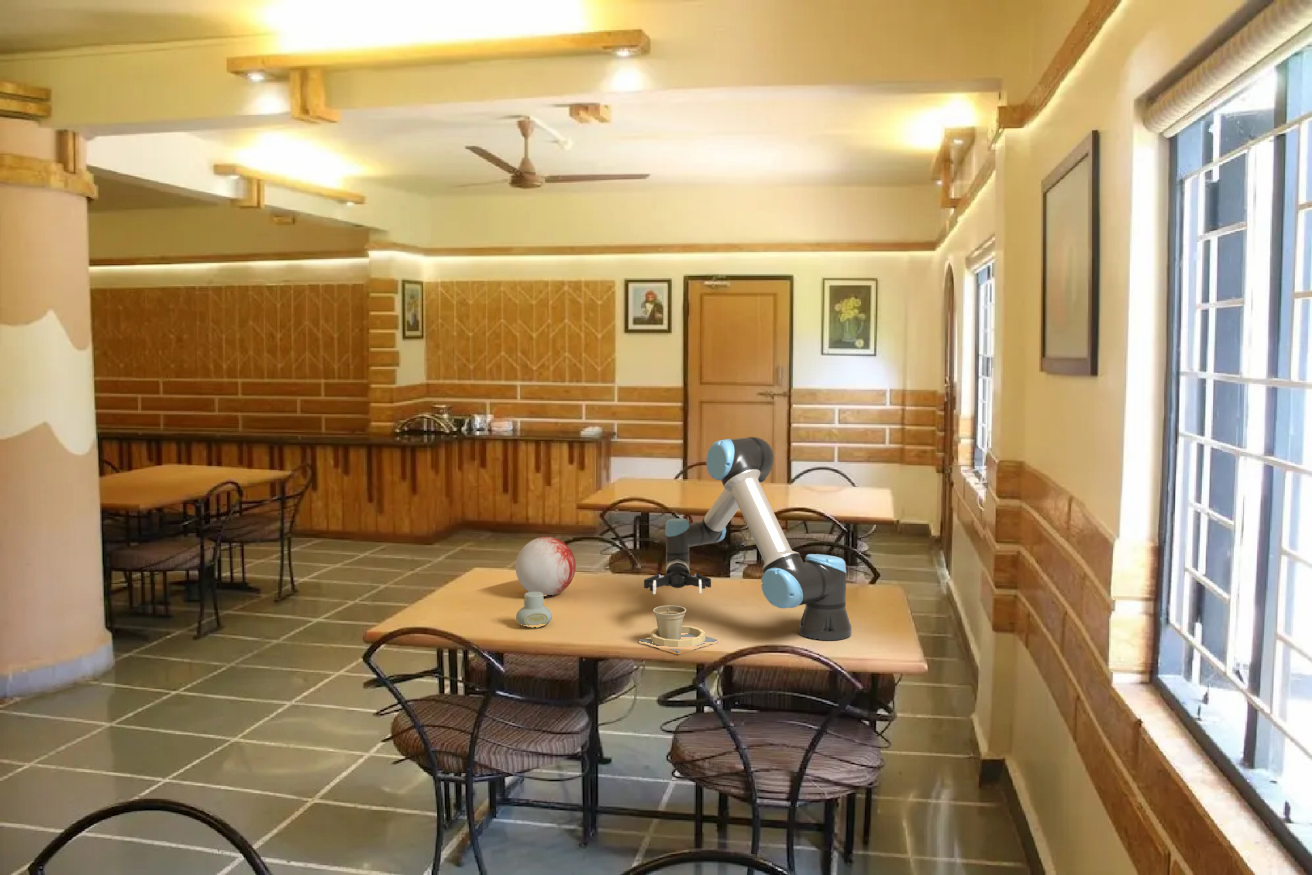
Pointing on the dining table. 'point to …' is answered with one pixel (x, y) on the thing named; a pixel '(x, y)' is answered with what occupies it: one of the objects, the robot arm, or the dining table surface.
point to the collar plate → (692, 632)
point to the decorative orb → (545, 566)
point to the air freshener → (534, 610)
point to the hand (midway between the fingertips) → (677, 589)
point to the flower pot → (669, 621)
